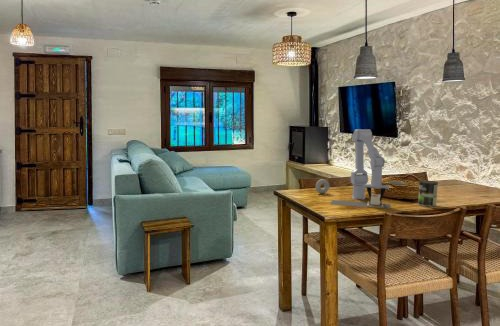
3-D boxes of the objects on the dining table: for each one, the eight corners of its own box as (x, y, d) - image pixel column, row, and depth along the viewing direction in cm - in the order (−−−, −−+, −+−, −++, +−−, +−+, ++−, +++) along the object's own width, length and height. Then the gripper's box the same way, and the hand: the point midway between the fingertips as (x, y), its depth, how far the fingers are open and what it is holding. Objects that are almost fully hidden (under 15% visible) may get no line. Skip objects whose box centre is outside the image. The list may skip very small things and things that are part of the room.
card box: (379, 205, 243) (379, 197, 242) (370, 204, 244) (370, 196, 244) (380, 202, 251) (380, 194, 251) (371, 201, 253) (371, 193, 252)
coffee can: (425, 207, 246) (426, 183, 245) (414, 203, 256) (415, 180, 254) (440, 206, 249) (441, 182, 247) (428, 202, 259) (430, 180, 257)
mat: (332, 200, 262) (332, 199, 262) (390, 204, 252) (390, 204, 252) (330, 205, 249) (330, 204, 249) (390, 209, 240) (390, 208, 240)
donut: (316, 194, 281) (317, 179, 280) (314, 193, 285) (314, 178, 283) (330, 193, 284) (330, 179, 283) (327, 192, 287) (328, 178, 286)
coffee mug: (407, 199, 269) (408, 183, 268) (393, 199, 267) (394, 184, 266) (395, 195, 282) (396, 180, 281) (381, 195, 280) (382, 180, 279)
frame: (367, 202, 256) (367, 200, 256) (383, 203, 253) (383, 201, 253) (367, 206, 243) (367, 205, 243) (383, 208, 241) (383, 206, 241)
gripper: (363, 178, 245) (362, 201, 246) (389, 179, 240) (388, 203, 242) (363, 176, 251) (362, 198, 253) (389, 177, 247) (388, 200, 249)
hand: (375, 200), depth 248 cm, fingers closed on card box, 5 cm apart
